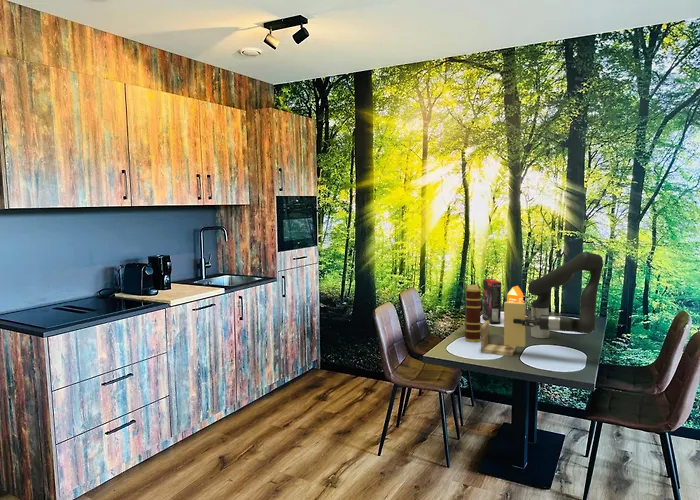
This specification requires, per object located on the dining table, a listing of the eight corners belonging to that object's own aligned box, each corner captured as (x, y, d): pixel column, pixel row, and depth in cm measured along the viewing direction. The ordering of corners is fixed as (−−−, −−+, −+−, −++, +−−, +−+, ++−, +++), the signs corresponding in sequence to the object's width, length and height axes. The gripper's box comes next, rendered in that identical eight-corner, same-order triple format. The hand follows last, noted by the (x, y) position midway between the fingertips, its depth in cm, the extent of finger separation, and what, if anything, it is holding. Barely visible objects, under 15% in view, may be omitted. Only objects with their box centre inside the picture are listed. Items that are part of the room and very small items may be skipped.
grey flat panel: (509, 345, 254) (510, 336, 254) (509, 346, 252) (509, 336, 252) (488, 342, 259) (488, 333, 259) (487, 343, 257) (488, 334, 257)
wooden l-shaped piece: (516, 349, 254) (516, 323, 253) (511, 356, 242) (512, 329, 240) (486, 345, 261) (486, 320, 260) (480, 352, 249) (481, 326, 247)
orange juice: (522, 314, 335) (523, 286, 333) (517, 316, 328) (517, 287, 327) (512, 312, 340) (512, 285, 339) (506, 314, 334) (507, 286, 332)
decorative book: (480, 342, 267) (481, 289, 265) (466, 341, 269) (466, 289, 266) (478, 332, 289) (478, 283, 287) (464, 331, 291) (465, 282, 288)
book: (505, 343, 251) (505, 301, 250) (525, 344, 247) (525, 302, 245) (504, 344, 248) (504, 302, 246) (524, 346, 243) (524, 304, 242)
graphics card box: (481, 318, 324) (482, 278, 322) (491, 318, 325) (492, 278, 323) (491, 324, 308) (491, 282, 305) (501, 324, 308) (502, 282, 306)
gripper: (551, 312, 245) (516, 310, 253) (548, 318, 232) (511, 315, 240) (551, 327, 245) (516, 324, 253) (548, 333, 233) (511, 330, 241)
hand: (514, 320), depth 247 cm, fingers closed on book, 4 cm apart
